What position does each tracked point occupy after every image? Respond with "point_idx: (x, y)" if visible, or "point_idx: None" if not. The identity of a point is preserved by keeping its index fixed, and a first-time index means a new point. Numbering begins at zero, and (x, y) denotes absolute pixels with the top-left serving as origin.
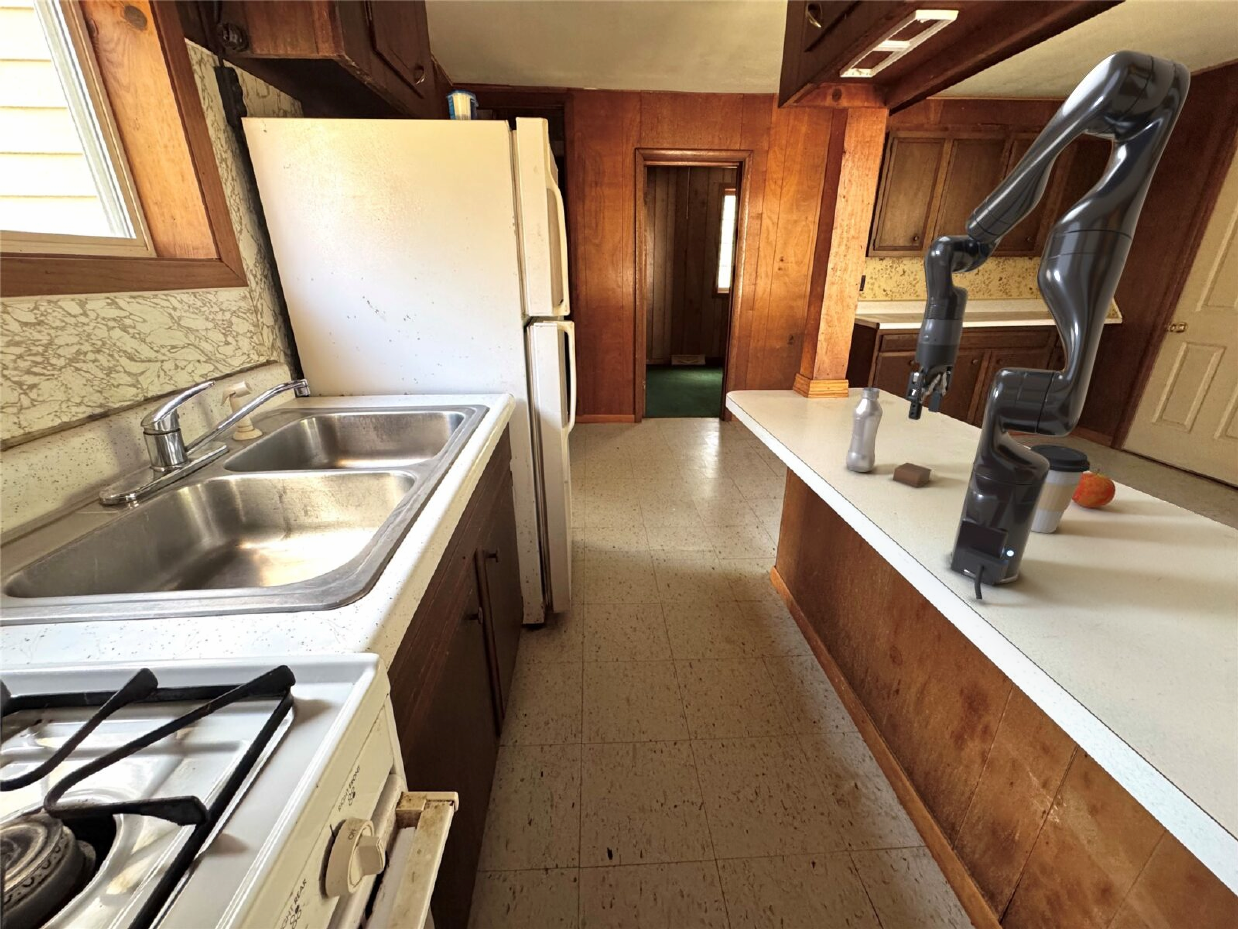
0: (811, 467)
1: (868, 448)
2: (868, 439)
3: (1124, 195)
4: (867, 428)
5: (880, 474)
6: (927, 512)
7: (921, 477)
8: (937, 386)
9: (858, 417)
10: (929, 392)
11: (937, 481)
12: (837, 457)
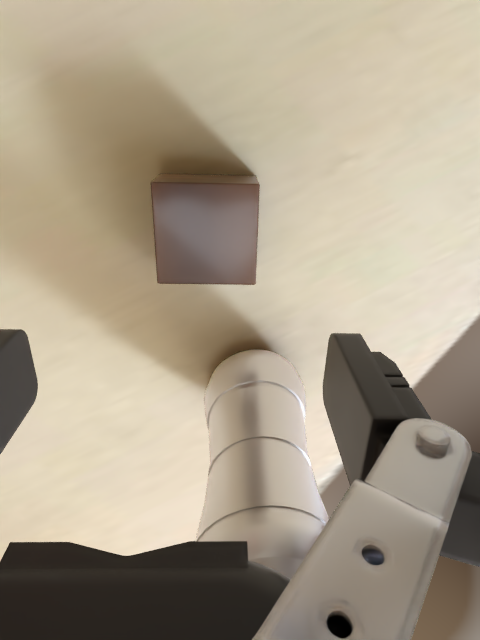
0: (339, 463)
1: (285, 409)
2: (293, 440)
3: None
4: (314, 488)
5: (234, 316)
6: (461, 30)
7: (234, 180)
8: (18, 563)
9: None
10: (396, 499)
11: (131, 149)
12: (204, 461)
